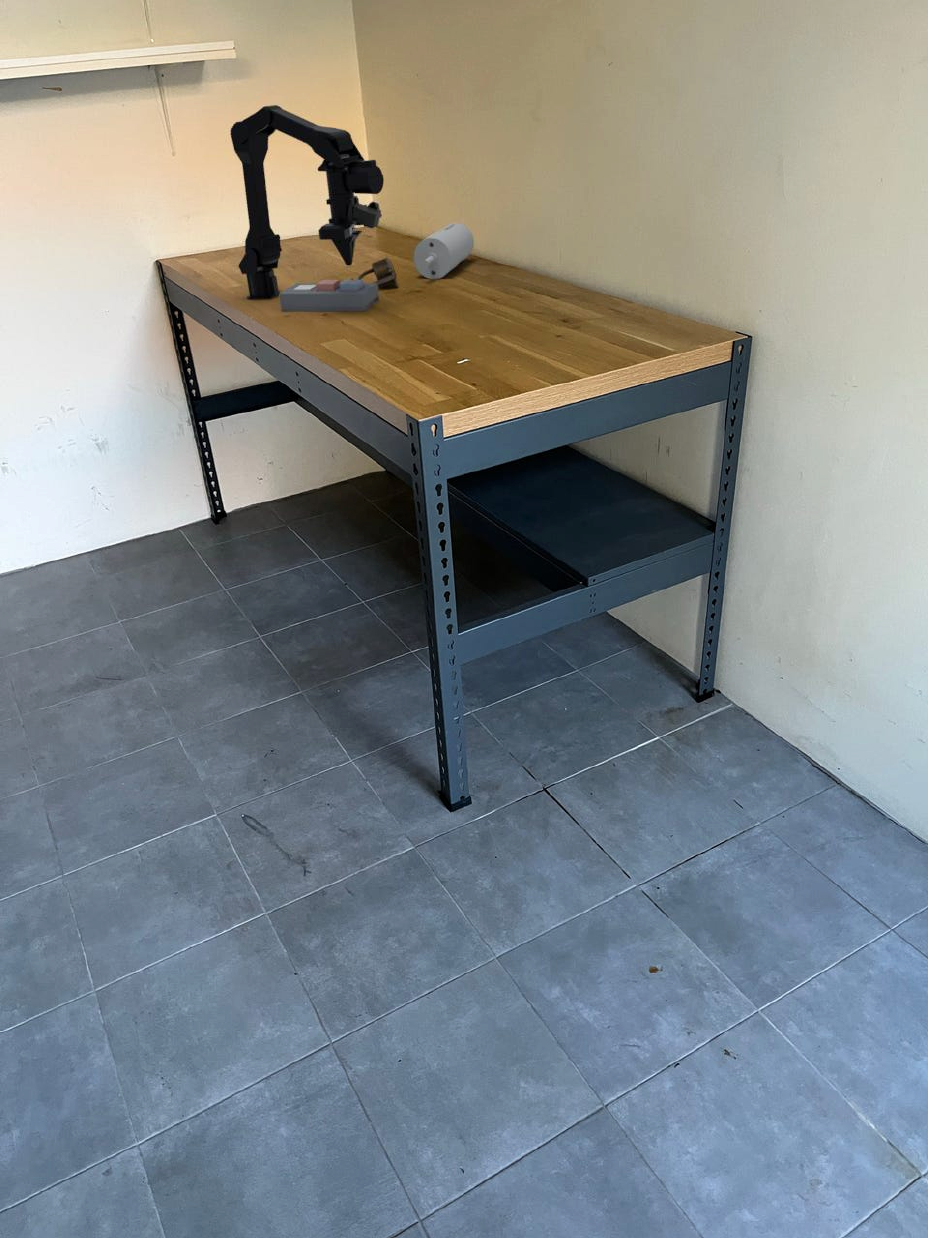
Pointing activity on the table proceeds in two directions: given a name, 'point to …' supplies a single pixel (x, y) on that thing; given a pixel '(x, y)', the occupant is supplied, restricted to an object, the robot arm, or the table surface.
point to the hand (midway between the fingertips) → (349, 264)
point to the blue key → (351, 285)
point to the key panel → (329, 299)
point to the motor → (443, 250)
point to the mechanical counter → (382, 273)
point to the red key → (328, 285)
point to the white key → (305, 288)
